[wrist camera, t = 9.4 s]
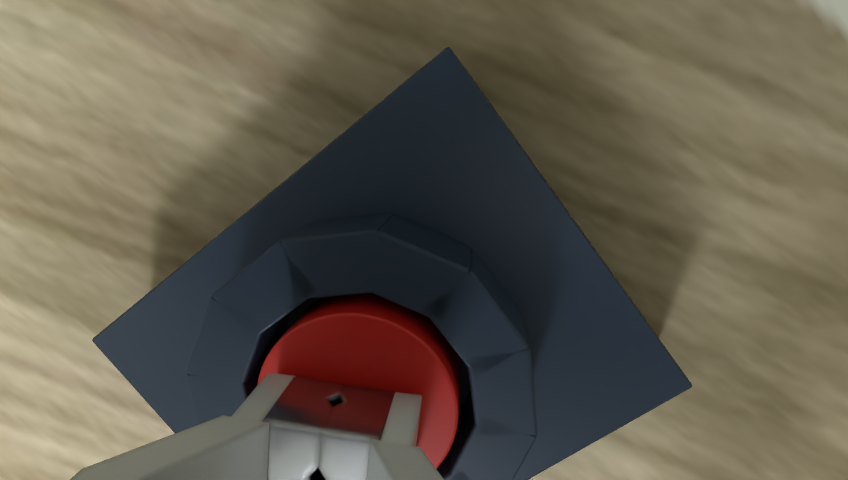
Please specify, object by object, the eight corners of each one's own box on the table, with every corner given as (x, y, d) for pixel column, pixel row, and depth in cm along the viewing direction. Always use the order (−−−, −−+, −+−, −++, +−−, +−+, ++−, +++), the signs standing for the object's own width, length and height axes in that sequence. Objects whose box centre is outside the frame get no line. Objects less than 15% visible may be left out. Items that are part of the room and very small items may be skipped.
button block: (453, 60, 12) (442, 27, 8) (658, 344, 13) (735, 436, 9) (147, 308, 14) (25, 376, 10) (342, 532, 15) (297, 668, 11)
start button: (386, 248, 11) (370, 272, 9) (496, 389, 11) (500, 436, 9) (253, 347, 11) (214, 386, 10) (360, 473, 12) (341, 531, 10)
